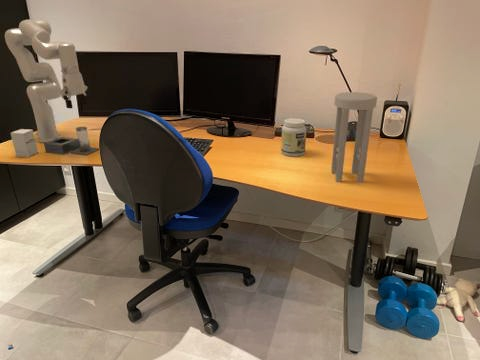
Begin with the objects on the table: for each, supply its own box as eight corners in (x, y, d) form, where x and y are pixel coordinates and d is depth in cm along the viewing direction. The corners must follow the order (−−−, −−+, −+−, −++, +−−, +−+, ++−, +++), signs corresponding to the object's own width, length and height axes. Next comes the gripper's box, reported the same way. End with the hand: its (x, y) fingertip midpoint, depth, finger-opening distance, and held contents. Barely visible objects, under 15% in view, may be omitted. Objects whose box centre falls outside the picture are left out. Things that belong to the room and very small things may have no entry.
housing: (45, 152, 196) (43, 143, 194) (63, 145, 206) (61, 136, 204) (63, 154, 192) (61, 145, 190) (80, 147, 202) (78, 138, 200)
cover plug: (77, 151, 195) (73, 128, 190) (84, 148, 199) (80, 126, 194) (85, 152, 193) (81, 129, 188) (92, 149, 197) (88, 127, 192)
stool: (360, 170, 169) (370, 91, 155) (369, 184, 155) (381, 99, 141) (325, 169, 170) (332, 91, 155) (332, 183, 155) (340, 99, 141)
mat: (71, 153, 194) (70, 152, 193) (84, 147, 202) (84, 146, 202) (86, 155, 190) (86, 154, 190) (99, 149, 199) (99, 148, 199)
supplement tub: (297, 159, 183) (299, 125, 176) (276, 154, 189) (277, 121, 183) (309, 152, 192) (311, 119, 185) (288, 147, 198) (290, 116, 192)
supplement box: (28, 157, 188) (22, 133, 183) (16, 156, 190) (9, 132, 185) (38, 152, 195) (33, 129, 190) (26, 152, 196) (20, 128, 191)
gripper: (62, 73, 171) (70, 110, 178) (89, 68, 186) (94, 103, 193) (50, 72, 173) (57, 109, 180) (77, 68, 188) (83, 102, 195)
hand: (76, 106), depth 187 cm, fingers open, 9 cm apart
